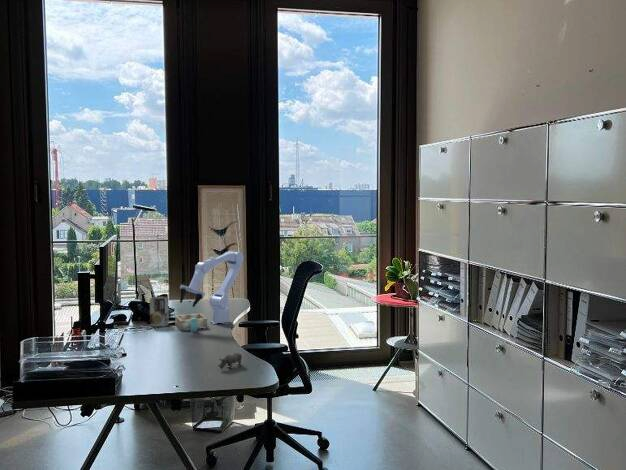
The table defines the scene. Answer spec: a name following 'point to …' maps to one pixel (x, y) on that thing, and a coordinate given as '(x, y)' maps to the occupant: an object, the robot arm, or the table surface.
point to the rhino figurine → (230, 360)
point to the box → (184, 321)
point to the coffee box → (159, 311)
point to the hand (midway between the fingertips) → (186, 304)
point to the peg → (193, 324)
